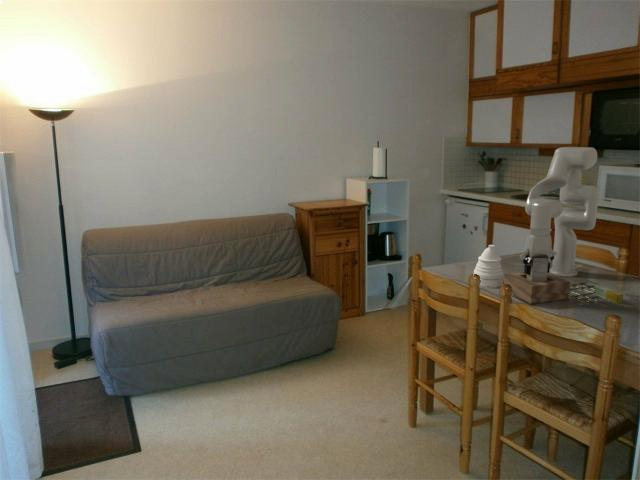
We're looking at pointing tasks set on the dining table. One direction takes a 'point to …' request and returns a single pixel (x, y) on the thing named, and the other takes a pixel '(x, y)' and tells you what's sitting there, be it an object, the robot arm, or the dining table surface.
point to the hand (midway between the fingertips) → (536, 273)
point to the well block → (538, 289)
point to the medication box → (608, 294)
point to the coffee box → (538, 269)
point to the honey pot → (489, 268)
